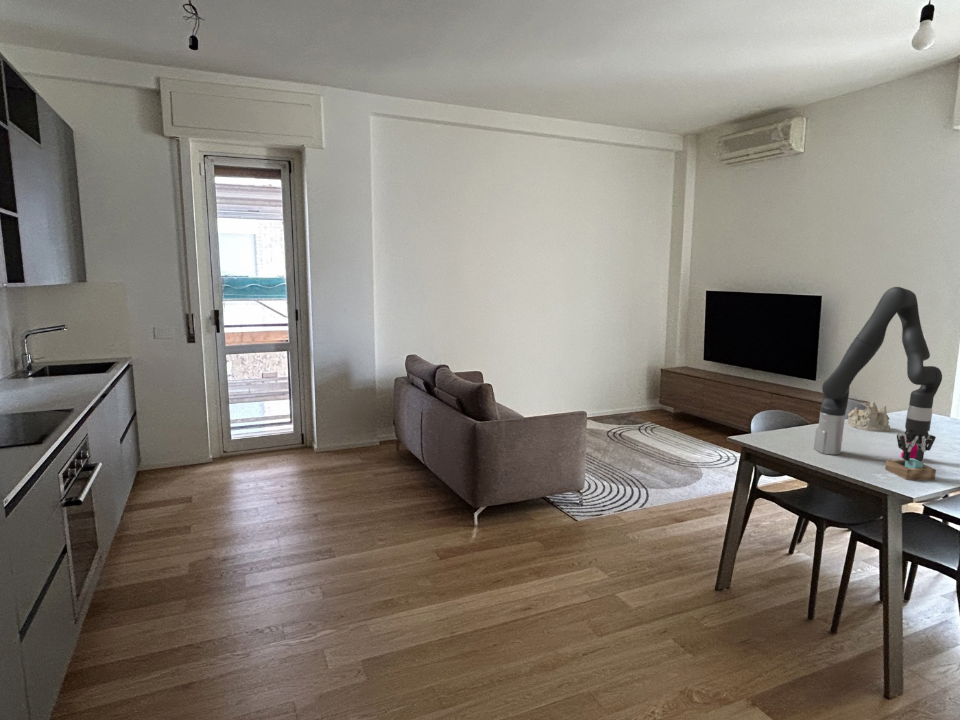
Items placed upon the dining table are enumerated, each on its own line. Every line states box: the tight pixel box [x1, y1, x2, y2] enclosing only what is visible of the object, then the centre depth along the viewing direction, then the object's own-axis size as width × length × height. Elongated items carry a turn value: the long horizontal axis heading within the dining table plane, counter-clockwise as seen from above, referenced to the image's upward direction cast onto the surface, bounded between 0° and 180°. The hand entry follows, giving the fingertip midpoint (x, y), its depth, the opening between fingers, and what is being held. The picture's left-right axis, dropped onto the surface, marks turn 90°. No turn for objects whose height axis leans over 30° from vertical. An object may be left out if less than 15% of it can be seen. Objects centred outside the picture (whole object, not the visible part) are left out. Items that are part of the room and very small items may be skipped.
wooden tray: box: [885, 459, 937, 481], centre depth 220 cm, size 11×11×4 cm
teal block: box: [905, 458, 924, 468], centre depth 219 cm, size 5×3×5 cm, turn 1°
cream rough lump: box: [846, 400, 892, 433], centre depth 285 cm, size 16×16×15 cm
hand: (912, 460), depth 220 cm, fingers open, 4 cm apart
